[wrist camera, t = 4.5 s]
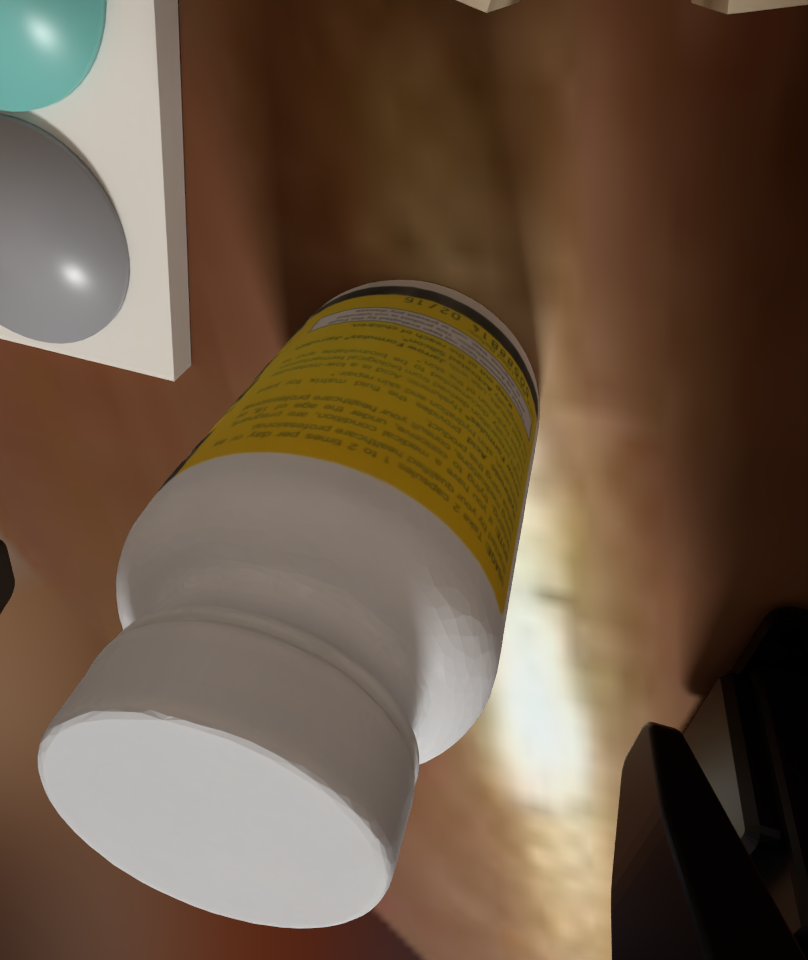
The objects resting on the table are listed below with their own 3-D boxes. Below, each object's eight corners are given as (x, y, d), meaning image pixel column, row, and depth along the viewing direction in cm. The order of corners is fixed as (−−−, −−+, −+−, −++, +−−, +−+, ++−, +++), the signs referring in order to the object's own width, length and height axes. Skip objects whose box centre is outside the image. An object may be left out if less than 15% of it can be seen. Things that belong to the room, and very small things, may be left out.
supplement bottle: (285, 254, 14) (-106, 596, 6) (563, 291, 13) (506, 736, 6) (294, 478, 17) (38, 893, 10) (519, 519, 17) (443, 1009, 9)
